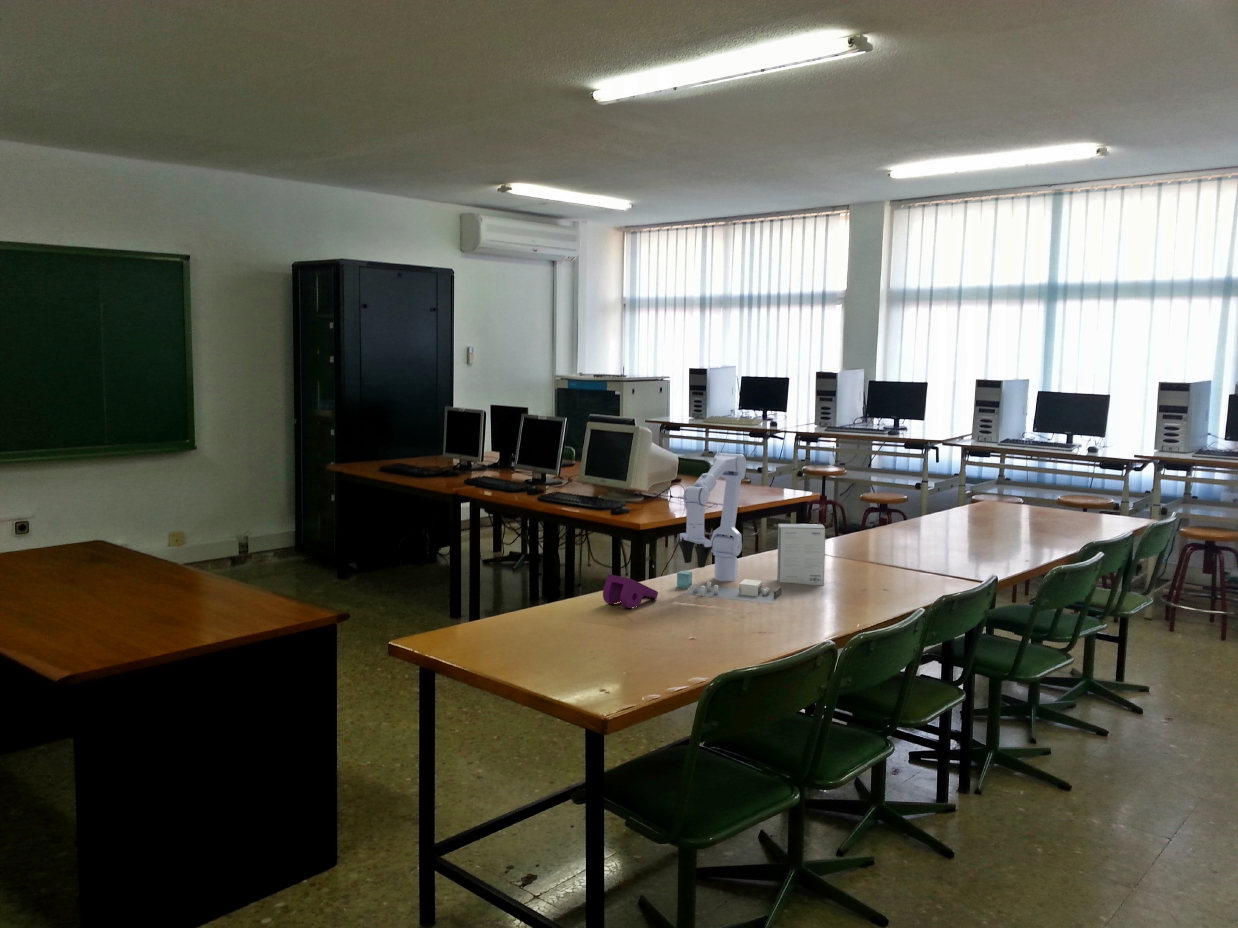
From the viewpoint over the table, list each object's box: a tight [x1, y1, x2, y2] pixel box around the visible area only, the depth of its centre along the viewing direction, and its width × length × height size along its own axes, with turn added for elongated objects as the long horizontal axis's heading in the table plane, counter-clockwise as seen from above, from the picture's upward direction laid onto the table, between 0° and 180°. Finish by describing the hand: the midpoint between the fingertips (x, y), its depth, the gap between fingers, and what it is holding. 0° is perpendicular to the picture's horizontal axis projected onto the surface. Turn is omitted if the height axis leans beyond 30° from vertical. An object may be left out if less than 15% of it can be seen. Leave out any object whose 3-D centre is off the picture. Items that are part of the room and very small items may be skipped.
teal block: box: [676, 570, 693, 589], centre depth 312 cm, size 4×4×5 cm
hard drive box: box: [776, 523, 826, 586], centre depth 320 cm, size 16×8×20 cm, turn 84°
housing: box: [738, 578, 764, 596], centre depth 302 cm, size 7×6×4 cm
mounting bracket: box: [602, 573, 659, 609], centre depth 291 cm, size 9×8×18 cm
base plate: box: [684, 581, 782, 605], centre depth 301 cm, size 15×28×4 cm, turn 68°
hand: (694, 564), depth 302 cm, fingers open, 7 cm apart
